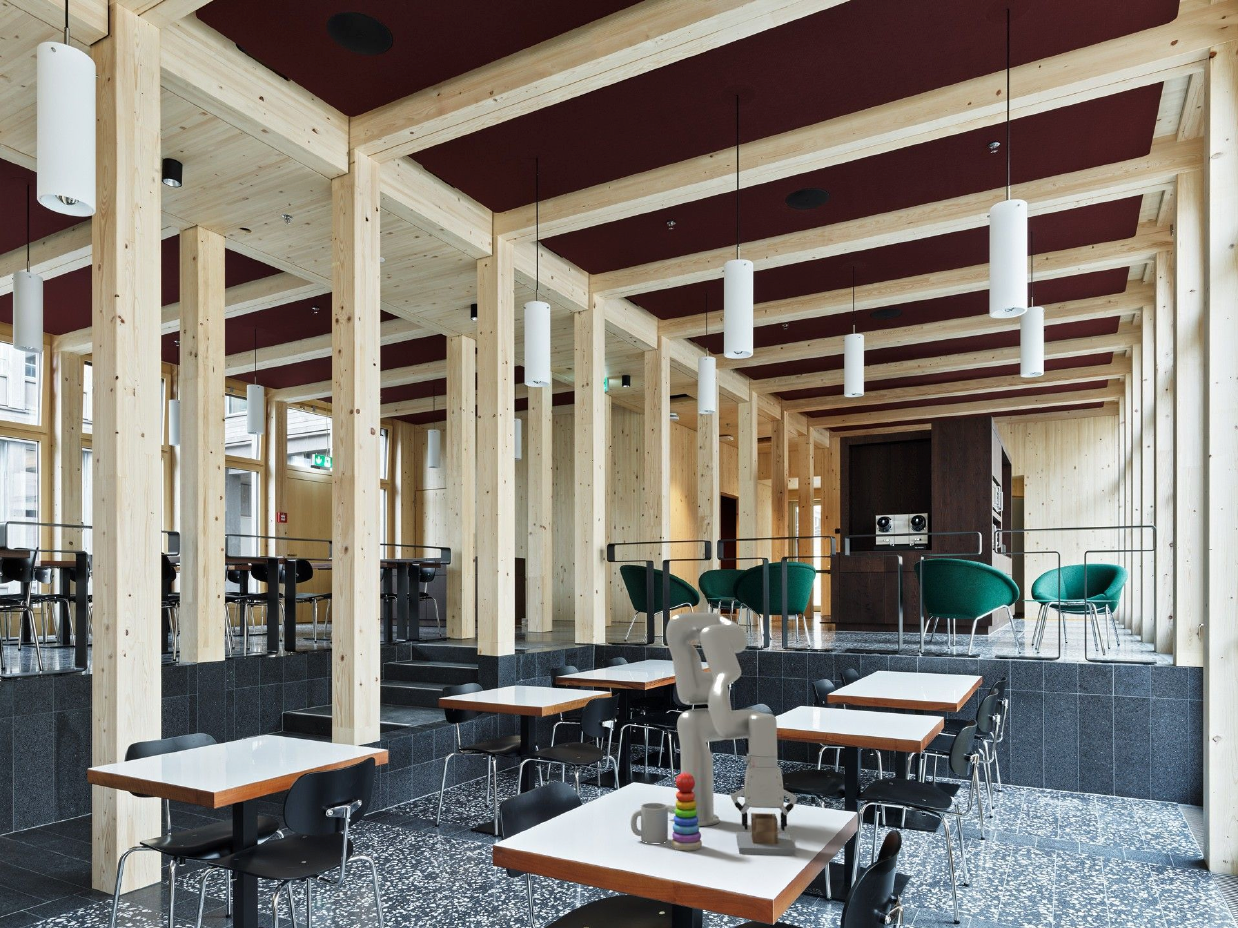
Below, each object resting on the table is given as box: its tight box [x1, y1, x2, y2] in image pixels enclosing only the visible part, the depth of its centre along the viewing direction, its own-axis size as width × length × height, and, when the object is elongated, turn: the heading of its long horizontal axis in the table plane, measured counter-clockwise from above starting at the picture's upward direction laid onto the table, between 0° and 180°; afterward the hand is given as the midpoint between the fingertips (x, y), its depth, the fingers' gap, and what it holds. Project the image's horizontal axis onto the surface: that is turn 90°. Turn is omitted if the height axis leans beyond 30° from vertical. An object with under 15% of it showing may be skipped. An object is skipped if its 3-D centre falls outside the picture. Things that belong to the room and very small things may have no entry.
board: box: [735, 831, 796, 856], centre depth 227 cm, size 14×15×5 cm
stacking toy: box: [671, 772, 703, 851], centre depth 227 cm, size 8×8×19 cm
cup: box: [630, 802, 669, 844], centre depth 232 cm, size 7×10×9 cm
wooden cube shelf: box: [750, 812, 779, 844], centre depth 228 cm, size 6×6×6 cm
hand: (764, 828), depth 228 cm, fingers open, 9 cm apart
